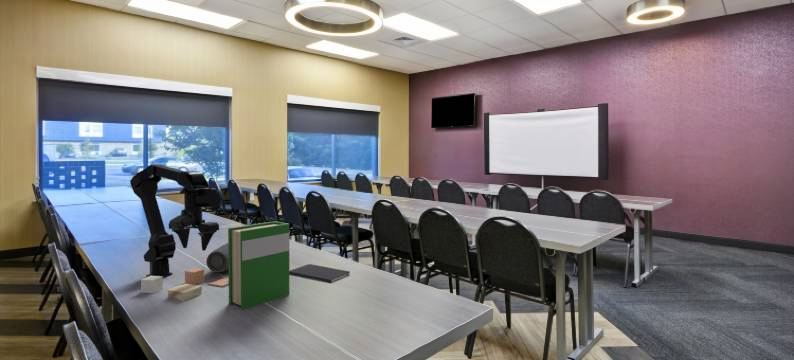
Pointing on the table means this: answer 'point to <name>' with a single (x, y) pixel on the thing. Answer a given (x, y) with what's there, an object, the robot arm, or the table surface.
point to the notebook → (319, 273)
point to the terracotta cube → (194, 276)
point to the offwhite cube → (151, 284)
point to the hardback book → (258, 263)
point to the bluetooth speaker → (218, 259)
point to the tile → (220, 283)
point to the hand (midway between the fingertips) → (194, 249)
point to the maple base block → (184, 292)
